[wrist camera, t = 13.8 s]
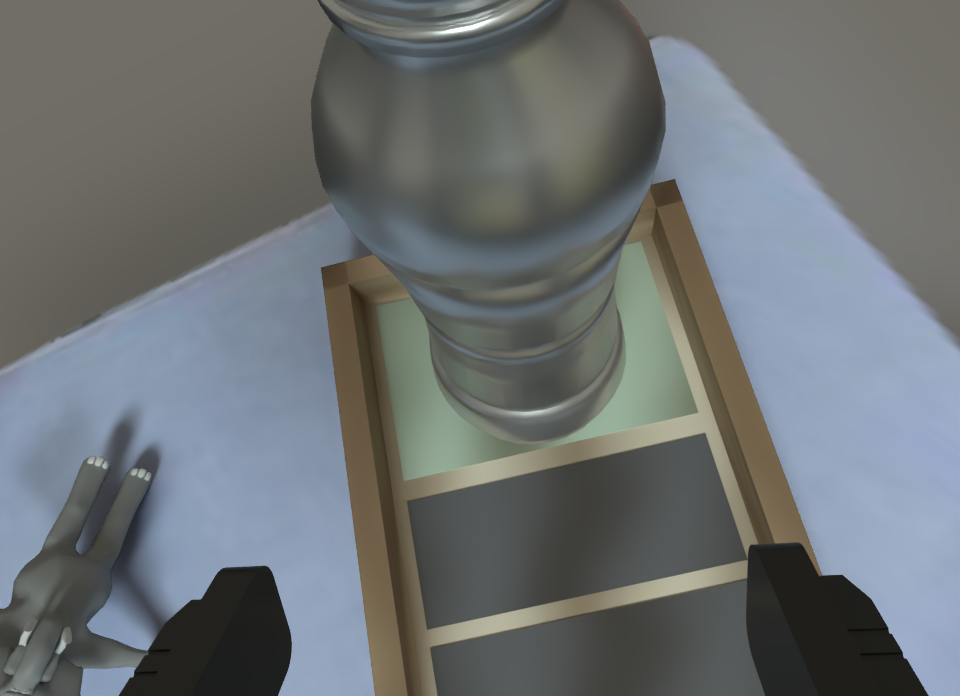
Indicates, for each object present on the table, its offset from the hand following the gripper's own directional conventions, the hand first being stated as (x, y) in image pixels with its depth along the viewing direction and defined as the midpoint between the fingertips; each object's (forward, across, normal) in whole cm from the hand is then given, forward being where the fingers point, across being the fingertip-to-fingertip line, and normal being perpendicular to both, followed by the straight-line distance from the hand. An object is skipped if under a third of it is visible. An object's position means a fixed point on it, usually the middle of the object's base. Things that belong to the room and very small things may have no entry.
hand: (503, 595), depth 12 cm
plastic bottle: (+15, 0, +3) cm, 15 cm away
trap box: (+13, -1, +7) cm, 15 cm away
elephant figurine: (+11, +18, +9) cm, 23 cm away
